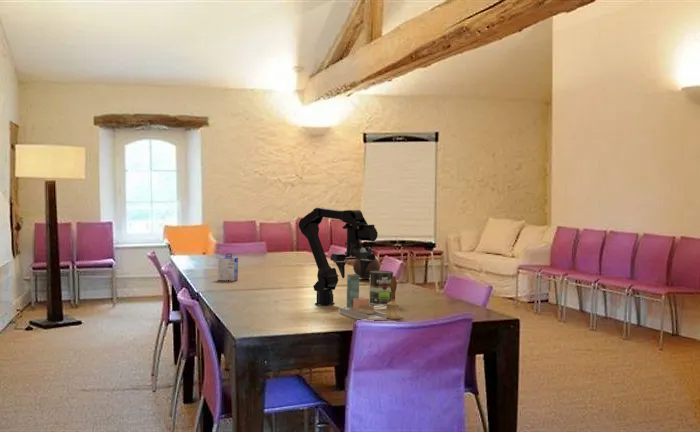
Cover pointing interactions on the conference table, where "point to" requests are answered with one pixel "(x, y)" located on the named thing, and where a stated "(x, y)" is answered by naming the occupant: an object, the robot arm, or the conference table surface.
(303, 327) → the conference table surface
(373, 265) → the wooden sphere
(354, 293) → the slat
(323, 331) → the conference table surface
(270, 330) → the conference table surface
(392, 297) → the wooden handled brush
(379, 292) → the coffee can
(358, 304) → the cube
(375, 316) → the lane board
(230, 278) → the ink cartridge box
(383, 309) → the broken slat
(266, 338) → the conference table surface
